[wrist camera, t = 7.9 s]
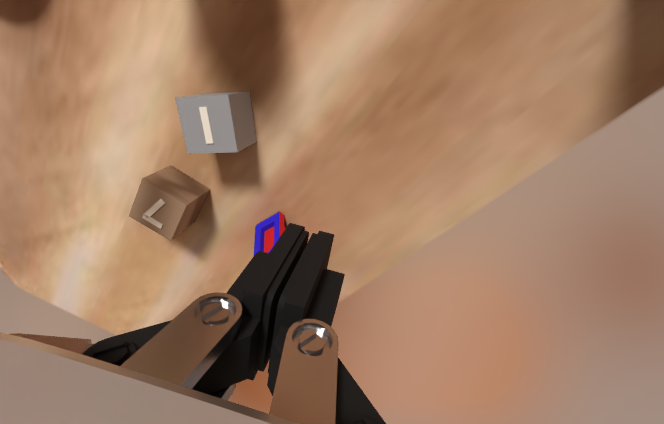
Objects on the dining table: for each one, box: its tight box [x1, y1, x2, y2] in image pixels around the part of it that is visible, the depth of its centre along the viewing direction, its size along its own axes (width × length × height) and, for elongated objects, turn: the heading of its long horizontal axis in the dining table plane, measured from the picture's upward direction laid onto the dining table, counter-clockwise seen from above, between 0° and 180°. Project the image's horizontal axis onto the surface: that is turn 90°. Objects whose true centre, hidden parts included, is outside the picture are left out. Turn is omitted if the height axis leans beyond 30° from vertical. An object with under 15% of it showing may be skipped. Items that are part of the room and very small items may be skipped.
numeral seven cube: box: [129, 166, 210, 241], centre depth 37 cm, size 5×5×5 cm
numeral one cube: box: [175, 91, 257, 154], centre depth 32 cm, size 5×5×5 cm
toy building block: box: [254, 211, 286, 256], centre depth 37 cm, size 4×4×8 cm
